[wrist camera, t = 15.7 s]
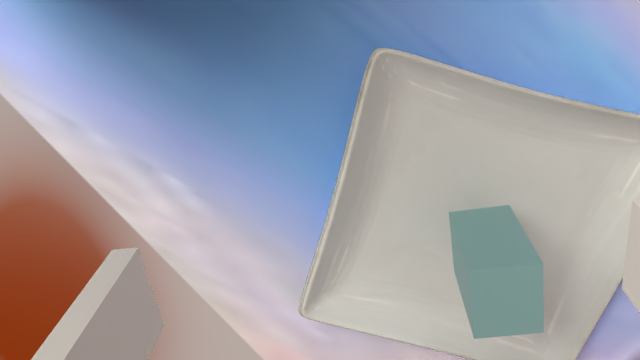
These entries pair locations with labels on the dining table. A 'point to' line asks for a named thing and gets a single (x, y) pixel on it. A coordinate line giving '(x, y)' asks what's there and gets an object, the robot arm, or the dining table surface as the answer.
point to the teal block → (497, 272)
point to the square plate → (471, 206)
